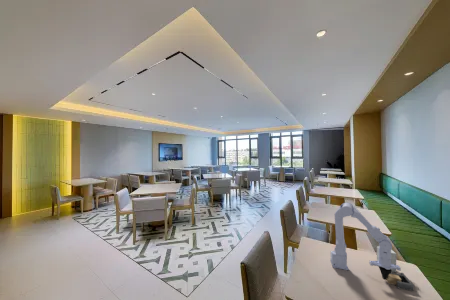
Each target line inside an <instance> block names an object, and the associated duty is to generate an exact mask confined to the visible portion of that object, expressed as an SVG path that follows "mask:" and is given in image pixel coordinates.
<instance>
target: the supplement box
mask: <svg viewBox="0 0 450 300" xmlns="http://www.w3.org/2000/svg"><path fill="white" fill-rule="evenodd" d="M378 253H379V245H377V246H376V261H378ZM391 264H394V265H397V253H396V252H395V251H394V250H393V249H391ZM391 271H392V272H391V273H397V269H391Z"/></svg>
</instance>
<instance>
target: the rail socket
mask: <svg viewBox="0 0 450 300" xmlns="http://www.w3.org/2000/svg"><path fill="white" fill-rule="evenodd" d="M390 274H393V275H398V276H399V277H400V278H401V282H399V281H397V285H396V288H398V289H400V290H406V291H411V292H414V289H415V288H414V287H415V286H414V284H413V283H412V282H411V280H410V279H409V278H408V277H407V276H406V275H405V274H404V273H403V272H400V273H396V272H391V273H390Z"/></svg>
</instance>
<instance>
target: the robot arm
mask: <svg viewBox="0 0 450 300" xmlns="http://www.w3.org/2000/svg"><path fill="white" fill-rule="evenodd" d="M346 217H351V218H355V219H357V220H358V221H359V222H360V223H361V224H362V225H363V226H364V227H365V228H366V231H367V232H368V234H370V236H371V237H372V238H373V239H374V240H375V241H376V242H378V246H379V253H378V261H377V260H369V262H368V263H369V265H370V266H371V267H373V266H376V267H378V268H379V272H380V273H381V278H382V279H383V280H385V281H386V279H387V277H388V275H389V274H390V273H393V272H392V271H391V269H396V271H398V272H399V271H401V269H402V267H400V265H397V264H396V265H394V264H391V250H393V244H392V242H391V239H390V238H389V237H388V236H387V235H386V234H384V233H383V232H382V231H381V229H380V227H377V226H376V225H372V224H371V223H370V222H369V221H368V219H366V217H365V216H364V215H363V214H362V213H361V212H360V211H359V210H358V209H357V207H355V206H354V205H353V204H352V203H351V202H343V203H342V204H341V205H339V207H338V208H337V209H336V211H335V212H334V228H335V230H334V231H335V247H334V250H331V251H330V263H331V266H332V268H334V269H340V270H344V271H349V270H350V269H349V266H348V254H347V248H348V247H347V244H346V242H345V233H344V232H345V231H344V218H346Z"/></svg>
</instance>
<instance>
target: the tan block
mask: <svg viewBox="0 0 450 300" xmlns="http://www.w3.org/2000/svg"><path fill="white" fill-rule="evenodd" d="M385 281H386V282H387V284H390V285H396V286H397V281H399V282H402V281H401V278H400V277H399V276H398V275H393V274H389V275H388V277H387V279H386V280H385Z"/></svg>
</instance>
